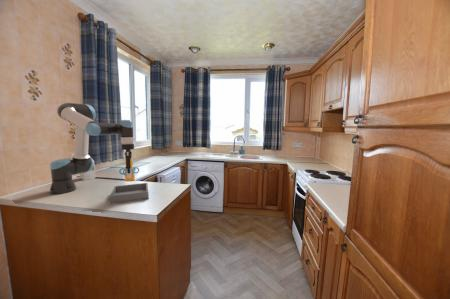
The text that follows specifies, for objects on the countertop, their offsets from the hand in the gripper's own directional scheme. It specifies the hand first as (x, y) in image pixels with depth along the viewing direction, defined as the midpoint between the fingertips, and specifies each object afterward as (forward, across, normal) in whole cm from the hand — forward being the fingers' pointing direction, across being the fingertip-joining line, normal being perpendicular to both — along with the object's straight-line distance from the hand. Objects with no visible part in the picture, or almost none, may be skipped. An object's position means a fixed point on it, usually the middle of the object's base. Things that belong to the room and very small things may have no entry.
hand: (129, 175), depth 137 cm
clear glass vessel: (+14, +67, +39) cm, 79 cm away
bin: (+14, 0, 0) cm, 14 cm away
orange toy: (+3, 0, 0) cm, 3 cm away
